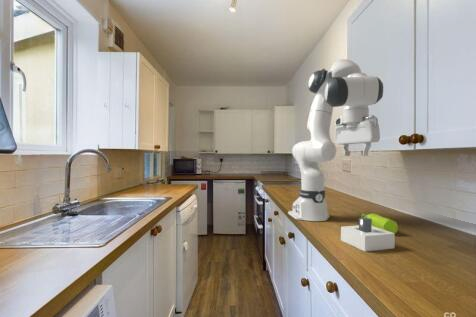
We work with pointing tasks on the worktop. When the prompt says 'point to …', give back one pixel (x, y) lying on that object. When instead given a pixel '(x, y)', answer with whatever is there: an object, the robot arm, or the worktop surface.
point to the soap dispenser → (382, 222)
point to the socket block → (368, 238)
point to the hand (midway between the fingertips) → (355, 155)
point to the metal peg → (365, 225)
